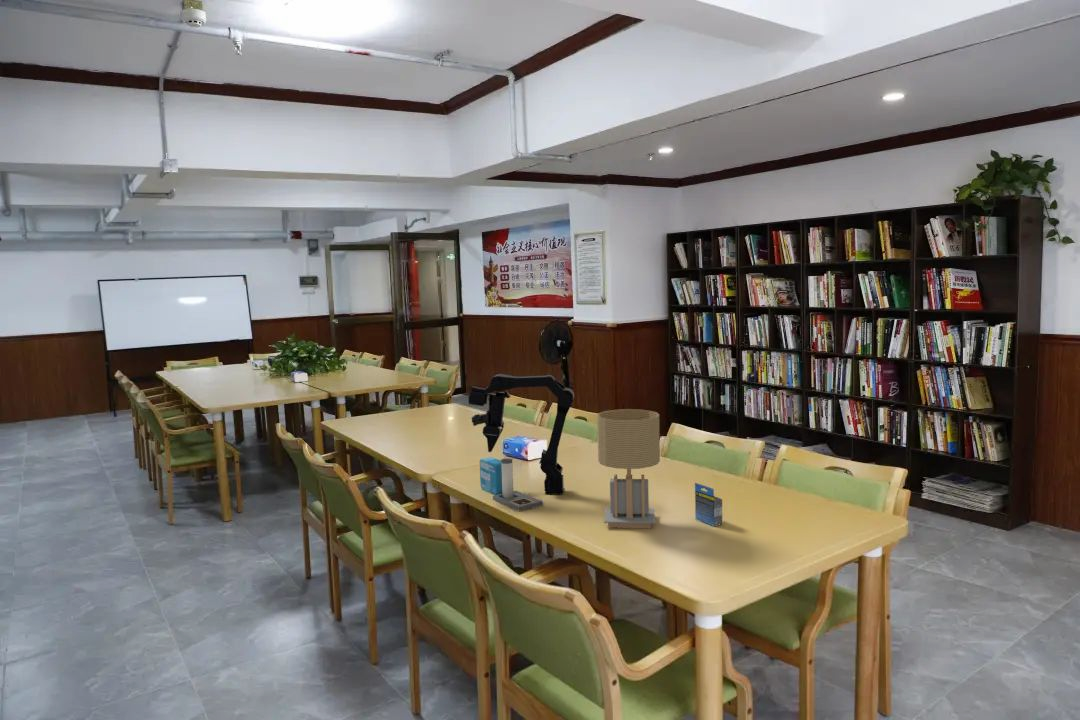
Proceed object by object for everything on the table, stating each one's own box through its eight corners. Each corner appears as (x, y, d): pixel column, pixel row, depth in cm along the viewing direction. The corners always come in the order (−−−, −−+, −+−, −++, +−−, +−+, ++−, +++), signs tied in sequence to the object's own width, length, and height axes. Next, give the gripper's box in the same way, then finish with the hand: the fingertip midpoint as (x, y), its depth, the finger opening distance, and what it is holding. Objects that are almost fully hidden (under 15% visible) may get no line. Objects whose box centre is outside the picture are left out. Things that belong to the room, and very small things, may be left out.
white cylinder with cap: (514, 498, 259) (513, 458, 258) (512, 502, 255) (511, 461, 254) (504, 498, 260) (502, 458, 258) (501, 501, 256) (500, 460, 254)
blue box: (480, 488, 273) (479, 458, 272) (490, 486, 276) (489, 456, 275) (496, 495, 264) (495, 464, 262) (507, 493, 266) (506, 462, 265)
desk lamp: (597, 532, 222) (595, 420, 218) (601, 511, 242) (598, 409, 238) (661, 533, 220) (660, 420, 216) (659, 512, 239) (658, 409, 235)
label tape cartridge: (723, 524, 225) (723, 486, 224) (713, 527, 224) (713, 488, 222) (703, 517, 233) (703, 480, 232) (694, 519, 231) (694, 482, 230)
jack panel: (515, 494, 264) (515, 490, 264) (542, 505, 251) (542, 500, 250) (493, 499, 259) (492, 495, 258) (519, 511, 245) (518, 506, 245)
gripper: (477, 402, 274) (472, 442, 275) (471, 408, 255) (466, 451, 256) (506, 406, 273) (501, 445, 275) (502, 412, 255) (496, 455, 256)
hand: (491, 449), depth 265 cm, fingers open, 9 cm apart
